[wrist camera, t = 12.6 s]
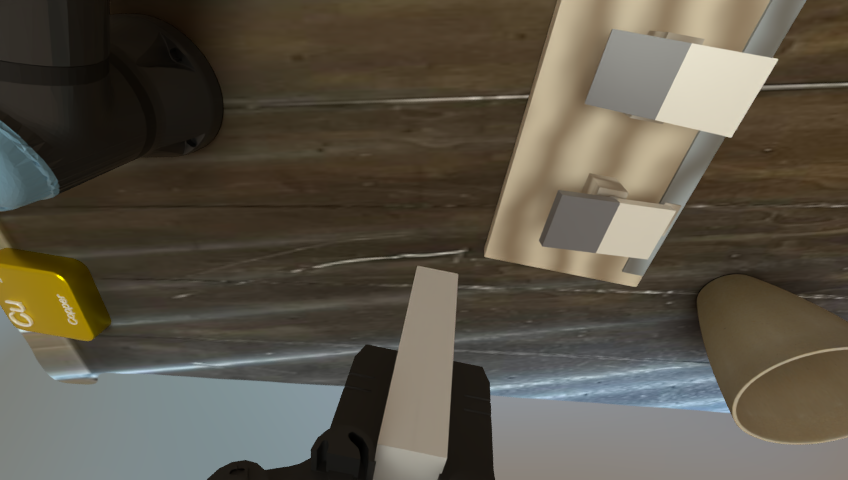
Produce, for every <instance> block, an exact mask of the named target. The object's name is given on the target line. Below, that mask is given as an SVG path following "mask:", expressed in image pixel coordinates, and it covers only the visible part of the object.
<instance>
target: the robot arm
mask: <svg viewBox="0 0 848 480" xmlns="http://www.w3.org/2000/svg"><path fill="white" fill-rule="evenodd" d="M222 116H223V102H222V96H221V91H220V87H219V84H218V81H217V79H216V77H215V74H214V72H213V70H212V68H211V67H210V65H209V63H208V62H207V60H206V58H205V57H204V56H203V54H202V53H201V52H200V50H199V49H198V48H197V47H196V46H195V45H194V44H193V43H192V42H191V41H190V40H189V39H188V38H187V37H186V36H185V35H184V34H183V33H181V32H180V31H179V30H177V29H176V28H174V27H173V26H171V25H170V24H168V23H166V22H164V21H162V20H160V19H157V18H154V17H151V16H147V15H142V14H113V15H110V0H0V211H7V210H12V209H16V208H19V207H22V206H24V205H27V204H30V203H33V202H36V201H38V200H41V199H49V198H53V197H54V196H56V195H58V194H60V193H62V192H64V191H66V190H68V189H71V188H73V187H75V186H77V185H80V184H82V183H84V182H86V181H88V180H91V179H93V178H95V177H97V176H99V175H102V174H104V173H106V172H108V171H110V170H113V169H115V168H117V167H119V166H121V165H124V164H126V163H128V162H130V161H132V160H135V159H137V158H140V157H177V156H183V155H187V154H190V153H192V152H194V151H196V150H198V149H200V148H202V147H204V146H206V145H207V144H208V143H210V142H211V141H212V140H213V139H214V137H215V136H216V134H217V132H218V131H219V128H220V125H221V122H222ZM457 285H458V274H456V273H451V272H446V271H441V270H436V269H431V268H426V267H421V266H417V269H416V274H415V278H414V283H413V287H412V292H411V296H410V300H409V305H408V309H407V314H406V318H405V323H404V327H403V332H402V336H401V340H400V345H399V349H398V351H396V350H391V349H386V348H381V347H377V346H372V345H367V344H366V345H365V346H364V347H363V349H362V350H361V351H360V352H359V353H358V354H357V355H356V356H355V358H354V361H353V364H352V366H351V369H350V372H349V375H348V378H347V381H346V384H345V387H344V389H343V392H342V395H341V398H340V401H339V404H338V407H337V410H336V412H335V415H334V418H333V421H332V424H331V427H330V429H328V430H327V431H325V432H324V433H323V434H322V435H321V436H319V437H318V438H317V440H316V442H315V443H314V445H313V447H312V449H311V458H310V459H308V460H306V461H304V462H302V463H300V464H297V465H293V466H289V467H282V468H276V469H270V470H264V469H263V468H262V467H261V466H259V465H258V464H257V463H254V462H251V461H247V460H244V461H237V462H232V463H229V464H228V465H225V466H224V467H221V468H219V469H218V470H217V471H216V472H215V473H214V474H213V475H211V476H210V477H209V478H208V479H207V480H495V477H494V471H493V450H492V425H491V403H490V382H489V380H488V378H487V376H486V374H485V372H484V370H483V368H482V367H480V366H475V365H470V364H465V363H460V362H455V361H453V352H454V335H455V319H456V302H457Z"/></svg>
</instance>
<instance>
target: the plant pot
mask: <svg viewBox="0 0 848 480" xmlns="http://www.w3.org/2000/svg"><path fill="white" fill-rule="evenodd" d="M697 310H698V318H699V324H700V329H701V333H702V338H703V341H704V345H705V349H706V352H707V355H708V359H709V361H710V364H711V367H712V370H713V373H714V375H715V378H716V380H717V383H718V385H719V388H720V390H721V392H722V394H723V397H724V399H725V401H726V404H727V406H728V408H729V410H730V412H731V415H732V417H733V419H734V421H735V422H736V424H737V425H738V427H739V428H741V429H742V430H743V431H744V432H746V433H747V434H749V435H751V436H753V437H756V438H759V439H762V440H764V441H769V442H774V443H780V444H797V445H801V444H816V443H822V442H829V441H834V440H839V439H843V438H847V437H848V322H847V321H845V320H843V319H842V318H840V317H838V316H836V315H834V314H832V313H831V312H829V311H827V310H825V309H823V308H821V307H819V306H817V305H815V304H813V303H811V302H809V301H807V300H805V299H803V298H801V297H799V296H797V295H795V294H792V293H790V292H788V291H786V290H784V289H781V288H779V287H777V286H774V285H772V284H769V283H767V282H764V281H762V280H759V279H756V278H754V277H751V276H747V275H743V274H732V275H726V276H722V277H720V278H717V279H715V280H713V281H711V282H710V283H708V284H707V285H706V286H705V287H703V289H702V290H701V291H700V293H699V294H698V297H697Z"/></svg>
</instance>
